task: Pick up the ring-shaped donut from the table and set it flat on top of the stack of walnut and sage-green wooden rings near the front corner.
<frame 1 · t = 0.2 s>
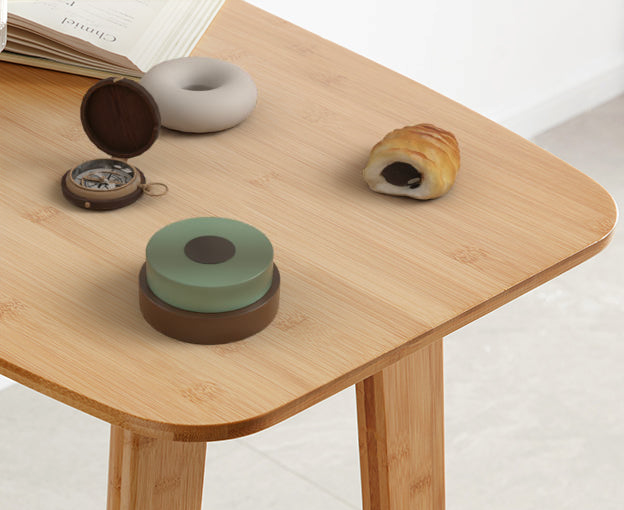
pastry: (412, 179, 88), on the table
ring stack: (209, 301, 73), on the table
donut: (197, 114, 95), on the table
compass: (120, 190, 84), on the table
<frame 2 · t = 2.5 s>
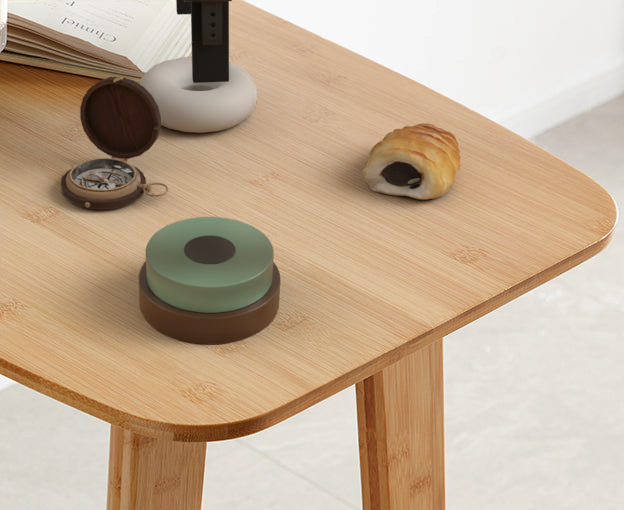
hand: (201, 44, 91), 6 cm above the table, tool pointing down, fingers open, 13 cm apart
nothing on the table moved.
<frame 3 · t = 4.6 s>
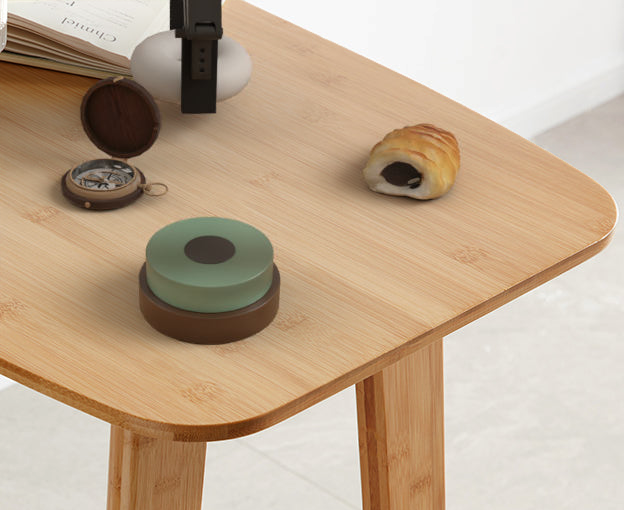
hand: (191, 81, 93), 3 cm above the table, tool pointing down, fingers closed on donut, 10 cm apart
donut: (191, 87, 94), point 2 cm above the table, touching gripper
everything else where it was.
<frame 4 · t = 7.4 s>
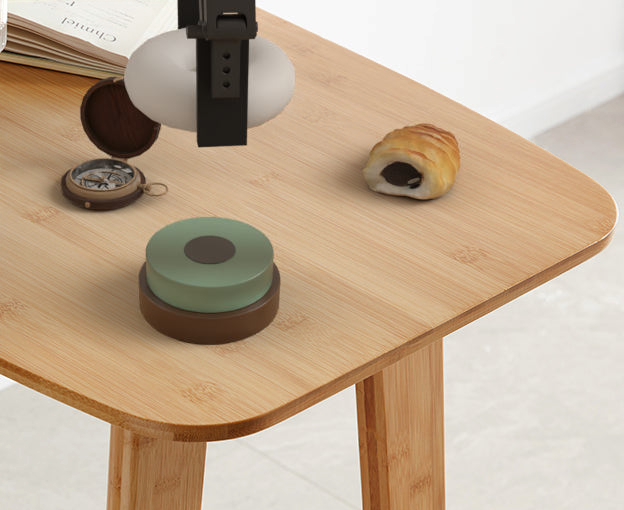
hand: (210, 100, 67), 13 cm above the table, tool pointing down, fingers closed on donut, 10 cm apart
donut: (210, 107, 67), point 13 cm above the table, touching gripper
everything else where it was.
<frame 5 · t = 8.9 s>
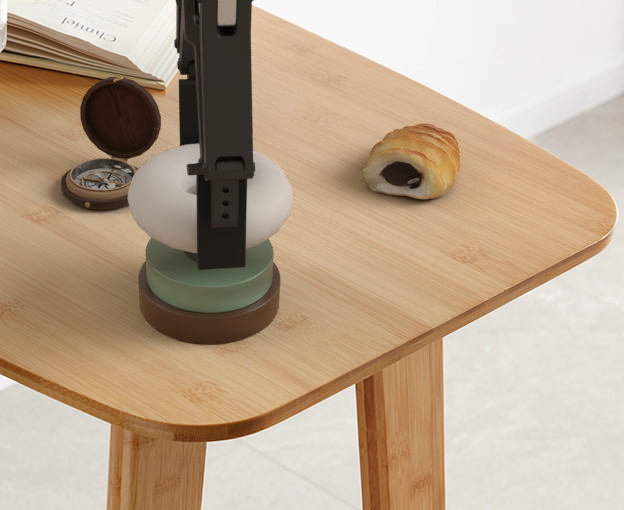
hand: (210, 216, 69), 6 cm above the table, tool pointing down, fingers closed on donut, 10 cm apart
donut: (211, 222, 70), point 6 cm above the table, touching gripper
everything else where it was.
when the fingers open (4 cm above the table, at t = 10.0 s): donut stays where it is, resting on ring stack.
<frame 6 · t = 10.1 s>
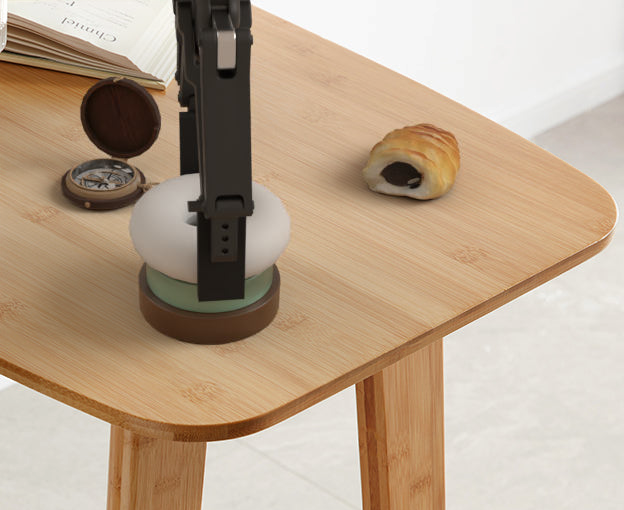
hand: (210, 247, 71), 4 cm above the table, tool pointing down, fingers open, 10 cm apart
donut: (210, 251, 71), point 4 cm above the table, touching ring stack
everything else where it was.
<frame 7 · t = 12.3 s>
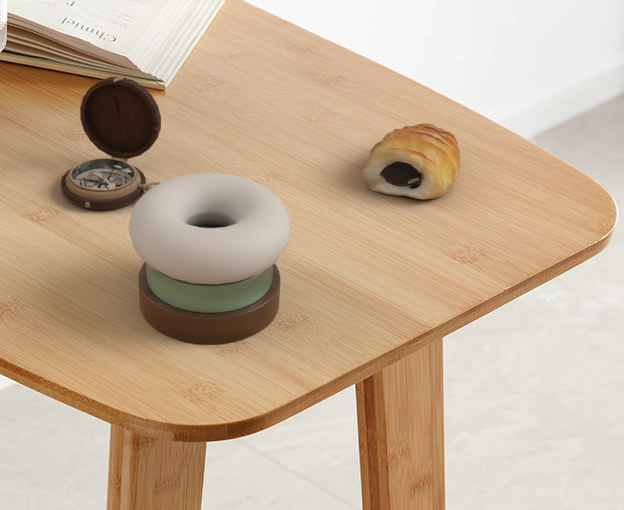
nothing on the table moved.
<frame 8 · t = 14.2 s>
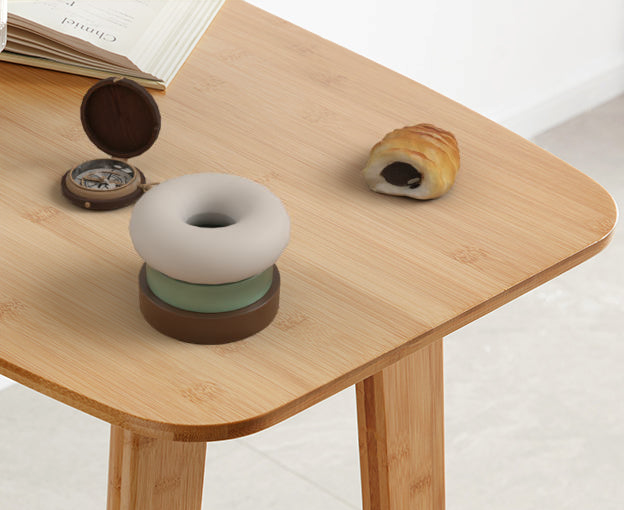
nothing on the table moved.
at the end: donut 0.0 cm off-centre on the ring stack, point 3.9 cm above the ring stack's base; donut tilted 0°; the gripper is holding nothing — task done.
